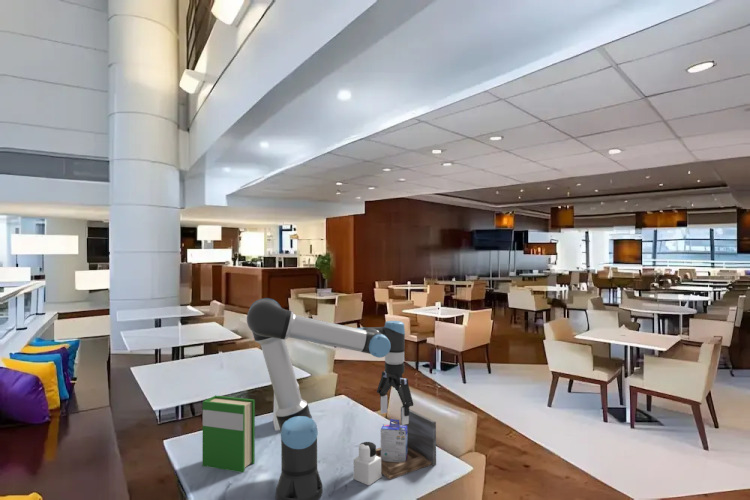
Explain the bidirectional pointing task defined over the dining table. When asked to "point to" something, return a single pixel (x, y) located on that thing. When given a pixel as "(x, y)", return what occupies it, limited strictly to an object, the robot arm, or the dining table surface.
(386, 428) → the ink cartridge box
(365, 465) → the medicine bottle
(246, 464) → the hardback book
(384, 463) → the wall dock
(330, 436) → the dining table surface
